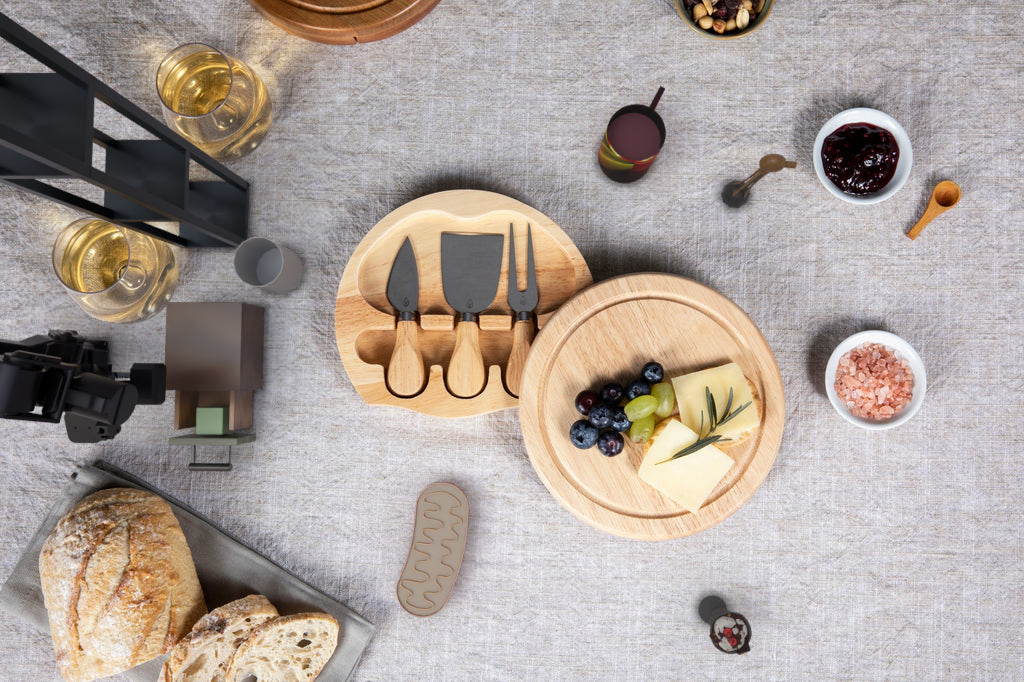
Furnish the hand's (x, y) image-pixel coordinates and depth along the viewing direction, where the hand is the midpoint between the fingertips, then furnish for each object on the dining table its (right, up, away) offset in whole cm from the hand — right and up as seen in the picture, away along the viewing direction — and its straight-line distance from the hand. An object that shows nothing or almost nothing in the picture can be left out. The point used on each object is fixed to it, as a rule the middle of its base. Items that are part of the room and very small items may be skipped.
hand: (133, 382), depth 107 cm
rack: (+7, +29, +13) cm, 33 cm away
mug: (+81, +42, +13) cm, 93 cm away
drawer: (+10, -6, +11) cm, 16 cm away
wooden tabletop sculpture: (+101, +33, +12) cm, 107 cm away
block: (+10, -7, +10) cm, 16 cm away
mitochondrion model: (+48, -29, +10) cm, 57 cm away
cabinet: (+10, +5, +12) cm, 17 cm away
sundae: (+96, -40, +9) cm, 104 cm away
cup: (+19, +19, +13) cm, 30 cm away
